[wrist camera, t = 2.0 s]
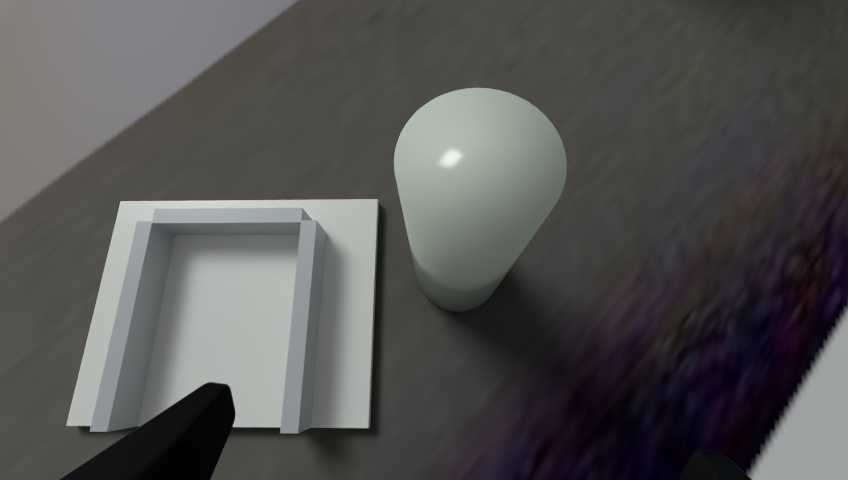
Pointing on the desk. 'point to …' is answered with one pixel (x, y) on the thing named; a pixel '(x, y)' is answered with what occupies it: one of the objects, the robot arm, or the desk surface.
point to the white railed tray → (235, 313)
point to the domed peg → (475, 189)
